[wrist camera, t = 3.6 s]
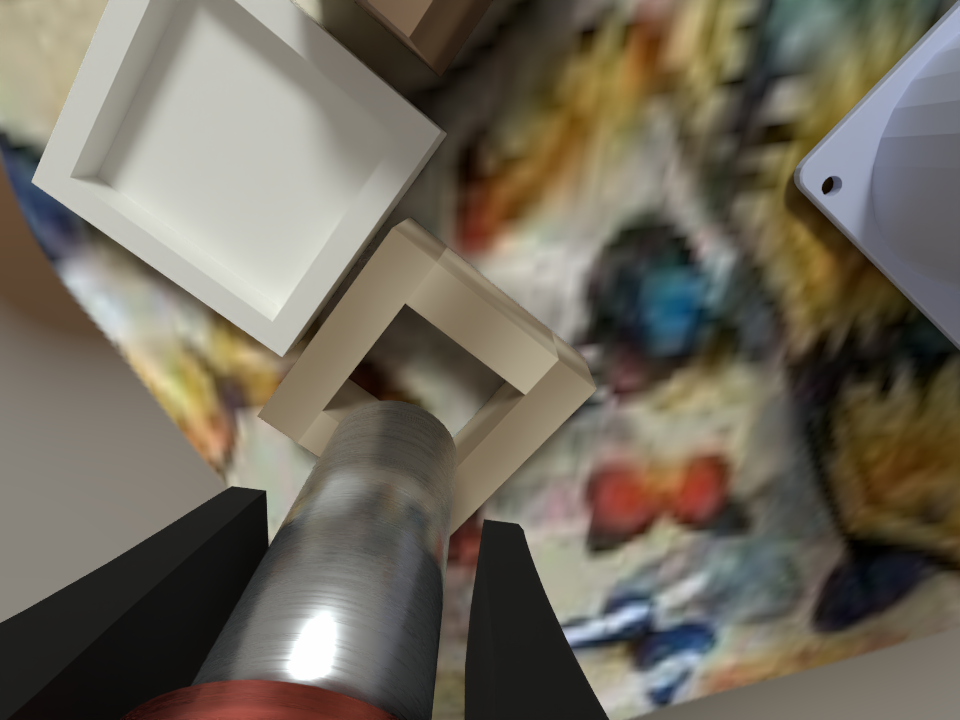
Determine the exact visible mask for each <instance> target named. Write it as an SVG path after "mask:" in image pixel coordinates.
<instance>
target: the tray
mask: <svg viewBox="0 0 960 720" xmlns="http://www.w3.org/2000/svg"><path fill="white" fill-rule="evenodd" d="M446 135H447V133H446V132H445V131H443V130H442V129H441V128H440V127H439V126H438V125H437V124H435V123H434V122H433V121H432V120H431V119H430V118H428V117H427V116H426V115H425V114H424V113H423V112H421V111H420V110H419V109H418V108H417V107H416V106H414V105H413V104H412V103H411V102H410V101H409V100H407V99H406V98H405V97H404V96H403V95H402V94H400V93H399V92H398V91H397V90H396V89H395V88H394V87H392V86H391V85H390V84H389V83H388V82H387V81H385V80H384V79H383V78H382V77H381V76H380V75H378V74H377V73H376V72H375V71H374V70H373V69H371V68H370V67H369V66H368V65H367V64H366V63H364V62H363V61H362V60H361V59H360V58H359V57H357V56H356V55H355V54H354V53H353V52H352V51H351V50H349V49H348V48H347V47H346V46H345V45H344V44H342V43H341V42H340V41H339V40H338V39H337V38H335V37H334V36H333V35H332V34H331V33H330V32H328V31H327V30H326V29H325V28H324V27H323V26H321V25H320V24H319V23H318V22H317V21H316V20H314V19H313V18H312V17H311V16H310V15H309V14H308V13H306V12H305V11H304V10H303V9H302V8H301V7H299V6H298V5H297V4H296V3H295V2H294V1H292V0H109V1H108V3H107V6H106V8H105V10H104V13H103V15H102V17H101V20H100V22H99V24H98V27H97V29H96V32H95V34H94V36H93V39H92V41H91V43H90V46H89V48H88V50H87V53H86V55H85V57H84V60H83V62H82V64H81V67H80V69H79V71H78V74H77V76H76V78H75V81H74V83H73V85H72V88H71V90H70V93H69V95H68V97H67V100H66V102H65V104H64V107H63V109H62V111H61V114H60V116H59V118H58V121H57V123H56V125H55V128H54V130H53V132H52V135H51V137H50V139H49V142H48V144H47V146H46V149H45V151H44V153H43V156H42V158H41V161H40V163H39V165H38V168H37V170H36V172H35V175H34V177H33V179H32V183H33V184H35V185H36V186H38V187H39V188H41V189H42V190H43V191H45V192H46V193H48V194H49V195H51V196H52V197H53V198H55V199H56V200H58V201H59V202H61V203H62V204H63V205H65V206H66V207H68V208H69V209H71V210H72V211H73V212H75V213H76V214H78V215H79V216H81V217H82V218H83V219H85V220H86V221H88V222H89V223H91V224H92V225H93V226H95V227H96V228H98V229H99V230H101V231H102V232H104V233H105V234H106V235H108V236H109V237H111V238H112V239H114V240H115V241H116V242H118V243H119V244H121V245H122V246H124V247H125V248H126V249H128V250H129V251H131V252H132V253H134V254H135V255H136V256H138V257H139V258H141V259H142V260H144V261H145V262H146V263H148V264H149V265H151V266H152V267H154V268H155V269H156V270H158V271H159V272H161V273H162V274H164V275H165V276H166V277H168V278H169V279H171V280H172V281H174V282H175V283H176V284H178V285H179V286H181V287H182V288H184V289H185V290H186V291H188V292H189V293H191V294H192V295H194V296H195V297H196V298H198V299H199V300H201V301H202V302H204V303H205V304H206V305H208V306H209V307H211V308H212V309H214V310H215V311H216V312H218V313H219V314H221V315H222V316H224V317H225V318H226V319H228V320H229V321H231V322H232V323H234V324H235V325H236V326H238V327H239V328H241V329H242V330H244V331H245V332H246V333H248V334H249V335H251V336H252V337H254V338H255V339H256V340H258V341H259V342H261V343H262V344H264V345H265V346H266V347H268V348H269V349H271V350H272V351H274V352H275V353H276V354H278V355H279V356H281V357H283V356H284V355H285V354H287V353H288V352H289V351H290V350H291V349H292V348H293V347H294V346H296V345H297V344H298V343H299V342H300V341H301V340H302V338H303V337H304V336H305V334H306V333H307V331H308V330H309V329H310V327H311V326H312V324H313V323H314V321H315V320H316V319H317V317H318V316H319V314H320V313H321V312H322V310H323V309H324V307H325V306H326V305H327V303H328V302H329V300H330V299H331V298H332V296H333V295H334V293H335V292H336V290H337V289H338V288H339V286H340V285H341V283H342V282H343V281H344V279H345V278H346V276H347V275H348V274H349V272H350V271H351V269H352V268H353V266H354V265H355V264H356V262H357V261H358V259H359V258H360V257H361V255H362V254H363V252H364V251H365V250H366V248H367V247H368V245H369V244H370V242H371V241H372V240H373V238H374V237H375V235H376V234H377V233H378V231H379V230H380V228H381V227H382V226H383V224H384V223H385V221H386V220H387V219H388V217H389V216H390V214H391V213H392V211H393V210H394V209H395V207H396V206H397V204H398V203H399V202H400V200H401V199H402V197H403V196H404V195H405V193H406V192H407V190H408V189H409V187H410V186H411V185H412V183H413V182H414V180H415V179H416V178H417V176H418V175H419V173H420V172H421V171H422V169H423V168H424V166H425V165H426V163H427V162H428V161H429V159H430V158H431V156H432V155H433V154H434V152H435V151H436V149H437V148H438V147H439V145H440V144H441V142H442V141H443V140H444V138H445V137H446Z"/></svg>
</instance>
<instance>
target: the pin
mask: <svg viewBox="0 0 960 720" xmlns="http://www.w3.org/2000/svg"><path fill="white" fill-rule="evenodd" d="M456 469H457V451H456V447H455V444H454V441H453V438H452V437H451V435H450V433H449V431H448V430H447V429H446V427H445V426H444V425H443V424H442V423H441V422H440V421H439V420H438V419H437V418H436V417H435V416H434V415H432V414H431V413H429V412H428V411H426V410H424V409H422V408H420V407H418V406H415V405H412V404H409V403H405V402H400V401H378V402H373V403H369V404H366V405H363V406H361V407H359V408H357V409H355V410H353V411H352V412H350V413H349V414H348V415H347V416H345V417H344V418H343V420H342V421H341V422H340V423H339V424H338V426H337V427H336V429H335V431H334V432H333V434H332V436H331V438H330V440H329V441H328V443H327V445H326V447H325V448H324V450H323V452H322V454H321V456H320V457H319V459H318V461H317V463H316V464H315V466H314V468H313V470H312V472H311V473H310V475H309V477H308V479H307V480H306V482H305V484H304V486H303V487H302V489H301V491H300V493H299V495H298V496H297V498H296V500H295V502H294V503H293V505H292V507H291V509H290V511H289V512H288V514H287V516H286V518H285V519H284V521H283V523H282V525H281V527H280V528H279V530H278V532H277V534H276V535H275V537H274V539H273V541H272V543H271V544H270V546H269V548H268V550H267V551H266V553H265V555H264V557H263V559H262V560H261V562H260V564H259V566H258V567H257V569H256V571H255V573H254V575H253V576H252V578H251V580H250V582H249V583H248V585H247V587H246V589H245V591H244V592H243V594H242V596H241V598H240V599H239V601H238V603H237V605H236V606H235V608H234V610H233V612H232V614H231V615H230V617H229V619H228V621H227V622H226V624H225V626H224V628H223V630H222V631H221V633H220V635H219V637H218V638H217V640H216V642H215V644H214V646H213V647H212V649H211V651H210V653H209V654H208V656H207V658H206V660H205V662H204V663H203V665H202V667H201V669H200V670H199V672H198V674H197V676H196V678H195V679H194V681H193V683H192V685H191V686H189V687H185V688H180V689H177V690H174V691H172V692H169V693H166V694H163V695H160V696H157V697H155V698H153V699H151V700H149V701H147V702H145V703H143V704H141V705H139V706H138V707H136V708H135V709H133V710H132V711H131V712H129V713H128V714H126V715H125V716H123V717H122V718H121V719H120V720H431V719H432V709H433V699H434V689H435V679H436V669H437V659H438V649H439V639H440V629H441V619H442V609H443V599H444V589H445V579H446V569H447V559H448V549H449V539H450V529H451V519H452V509H453V499H454V489H455V479H456Z"/></svg>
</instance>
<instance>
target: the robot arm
mask: <svg viewBox="0 0 960 720" xmlns="http://www.w3.org/2000/svg"><path fill="white" fill-rule="evenodd" d="M829 177H832V179H833V181H834V183H833V188H832V189H831V191H830V192H829V193H827V194H826V195H824V194H823V192H822V184H823V182H824V181H825V179H827V178H829ZM794 183H795V185H796V186H797V188H798V189H799V190H800V191H801V192H802V193H803V194H804V195H805V196H806V197H807V198H808V199H809V200H810V201H811V202H812V203H813V204H814V205H815V206H816V207H817V208H818V209H819V210H820V211H821V212H822V213H823V214H824V215H825V216H826V217H827V218H828V219H829V220H830V221H831V222H832V223H833V224H834V225H835V226H836V227H837V228H838V229H839V230H840V231H841V232H842V233H843V234H844V235H845V236H846V237H847V238H848V239H849V240H850V241H851V242H852V243H853V244H854V245H855V246H856V247H857V248H858V249H859V250H860V251H861V252H862V253H863V254H864V255H865V256H866V257H867V258H868V259H869V260H870V261H871V262H872V263H873V264H874V265H875V266H876V267H877V268H878V269H879V270H880V271H881V272H882V273H883V274H884V275H885V276H886V277H887V278H888V279H889V280H890V281H891V282H892V283H893V284H894V285H895V286H896V287H897V288H898V289H899V290H900V291H901V292H902V293H903V294H904V295H905V296H906V297H907V298H908V299H909V300H910V301H911V302H912V303H913V304H914V305H915V306H916V307H917V308H918V309H919V310H920V311H921V312H922V313H923V314H924V315H925V316H926V317H927V318H928V319H929V320H930V321H931V322H932V323H933V324H934V325H935V326H936V327H937V328H938V329H939V330H940V331H941V332H942V333H943V334H944V335H945V336H946V337H947V338H948V339H949V340H950V341H951V342H952V343H953V344H954V345H955V346H956V347H957V348H958V349H959V350H960V0H958V1H957V2H956V3H955V4H954V5H953V6H952V7H951V8H950V9H949V10H948V11H947V12H946V13H945V14H944V15H943V17H942V18H941V19H940V20H939V21H938V22H937V23H936V24H935V25H934V26H933V27H932V28H931V29H930V30H929V31H928V32H927V33H926V34H925V35H924V36H923V37H922V38H921V39H920V40H919V41H918V42H917V43H916V44H915V45H914V46H913V47H912V48H911V49H910V50H909V51H908V52H907V53H906V54H905V55H904V56H903V57H902V58H901V59H900V60H899V61H898V62H897V63H896V64H895V65H894V67H893V68H892V69H891V70H890V71H889V72H888V73H887V74H886V75H885V76H884V77H883V78H882V79H881V80H880V81H879V82H878V83H877V84H876V85H875V86H874V87H873V88H872V89H871V90H870V91H869V92H868V93H867V94H866V95H865V96H864V97H863V98H862V99H861V100H860V101H859V102H858V103H857V104H856V105H855V106H854V107H853V108H852V109H851V110H850V111H849V112H848V113H847V114H846V115H845V116H844V118H843V119H842V120H841V121H840V122H839V123H838V124H837V125H836V126H835V127H834V128H833V129H832V130H831V131H830V132H829V133H828V134H827V135H826V136H825V137H824V138H823V139H822V140H821V141H820V142H819V143H818V144H817V145H816V146H815V147H814V148H813V149H812V150H811V151H810V152H809V153H808V154H807V155H806V156H805V157H804V158H803V159H802V160H801V161H800V163H799V164H798V166H797V167H796V169H795V173H794ZM268 548H269V545H268V522H267V499H266V491H264V490H257V489H249V488H241V487H234V486H232V487H230V488H228V489H227V490H225V491H223V492H221V493H220V494H218V495H217V496H215V497H213V498H212V499H210V500H208V501H207V502H205V503H204V504H202V505H201V506H199V507H197V508H196V509H194V510H192V511H191V512H189V513H188V514H186V515H184V516H183V517H181V518H180V519H178V520H177V521H175V522H173V523H172V524H170V525H169V526H167V527H166V528H164V529H162V530H161V531H159V532H157V533H156V534H154V535H152V536H151V537H149V538H148V539H146V540H144V541H143V542H141V543H139V544H138V545H136V546H135V547H133V548H131V549H130V550H128V551H127V552H125V553H123V554H122V555H120V556H118V557H117V558H115V559H113V560H112V561H110V562H108V563H107V564H105V565H103V566H102V567H100V568H98V569H96V570H94V571H93V572H91V573H89V574H88V575H86V576H84V577H82V578H80V579H79V580H77V581H76V582H73V583H72V584H70V585H68V586H66V587H65V588H63V589H61V590H59V591H58V592H56V593H54V594H52V595H51V596H49V597H47V598H45V599H44V600H42V601H40V602H38V603H37V604H35V605H33V606H31V607H30V608H28V609H26V610H24V611H22V612H20V613H18V614H17V615H15V616H13V617H11V618H9V619H7V620H5V621H3V622H1V623H0V720H120V719H121V718H122V717H123V716H125V715H126V714H128V713H129V712H131V711H132V710H133V709H135V708H136V707H138V706H139V705H141V704H143V703H145V702H147V701H149V700H151V699H153V698H155V697H157V696H160V695H163V694H166V693H169V692H172V691H174V690H177V689H180V688H185V687H189V686H191V685H192V683H193V681H194V679H195V678H196V676H197V674H198V672H199V670H200V669H201V667H202V665H203V663H204V662H205V660H206V658H207V656H208V654H209V653H210V651H211V649H212V647H213V646H214V644H215V642H216V640H217V638H218V637H219V635H220V633H221V631H222V630H223V628H224V626H225V624H226V622H227V621H228V619H229V617H230V615H231V614H232V612H233V610H234V608H235V606H236V605H237V603H238V601H239V599H240V598H241V596H242V594H243V592H244V591H245V589H246V587H247V585H248V583H249V582H250V580H251V578H252V576H253V575H254V573H255V571H256V569H257V567H258V566H259V564H260V562H261V560H262V559H263V557H264V555H265V553H266V551H267V550H268ZM465 720H609V718H608V717H607V715H606V713H605V711H604V710H603V708H602V706H601V704H600V703H599V701H598V699H597V697H596V695H595V694H594V692H593V690H592V688H591V686H590V684H589V682H588V681H587V679H586V677H585V675H584V673H583V671H582V669H581V667H580V665H579V663H578V662H577V660H576V658H575V656H574V654H573V652H572V650H571V648H570V646H569V644H568V642H567V639H566V637H565V635H564V633H563V631H562V629H561V627H560V624H559V622H558V620H557V618H556V616H555V613H554V611H553V609H552V607H551V605H550V602H549V600H548V598H547V595H546V593H545V591H544V588H543V586H542V583H541V581H540V578H539V576H538V573H537V570H536V568H535V565H534V562H533V560H532V557H531V554H530V551H529V548H528V545H527V541H526V538H525V534H524V530H523V529H522V528H521V527H520V525H519V524H515V523H508V522H500V521H492V520H485V519H484V523H483V529H482V536H481V543H480V549H479V556H478V563H477V569H476V576H475V583H474V589H473V596H472V603H471V611H470V621H469V631H468V641H467V652H466V662H465Z"/></svg>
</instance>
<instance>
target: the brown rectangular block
mask: <svg viewBox="0 0 960 720" xmlns="http://www.w3.org/2000/svg"><path fill="white" fill-rule="evenodd" d="M354 1H355V2H356V3H357V4H358V5H359V6H360V7H362V8H363V9H364V10H365V11H366V12H367V13H368V14H370V15H371V16H372V17H373V18H374V19H375V20H376V21H377V22H379V23H380V24H381V25H382V26H383V27H384V28H385V29H386V30H388V31H389V32H390V33H391V34H392V35H393V36H394V37H395V38H397V39H398V40H399V41H400V42H401V43H402V44H403V45H404V46H406V47H407V48H408V49H409V50H410V51H411V52H412V53H413V54H415V55H416V56H417V57H418V58H419V59H420V60H421V61H423V62H424V63H425V64H426V65H427V66H428V67H429V68H430V69H432V70H433V71H434V72H435V73H436V74H437V75H438V76H439V77H441V76H442V75H443V73H444V72H445V70H446V69H447V67H448V66H449V64H450V63H451V62H452V60H453V59H454V57H455V56H456V54H457V53H458V51H459V50H460V48H461V47H462V45H463V44H464V42H465V41H466V39H467V38H468V36H469V35H470V34H471V32H472V31H473V29H474V28H475V26H476V25H477V23H478V22H479V20H480V19H481V17H482V16H483V14H484V13H485V11H486V10H487V8H488V7H489V6H490V4H491V3H492V1H493V0H354Z"/></svg>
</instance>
